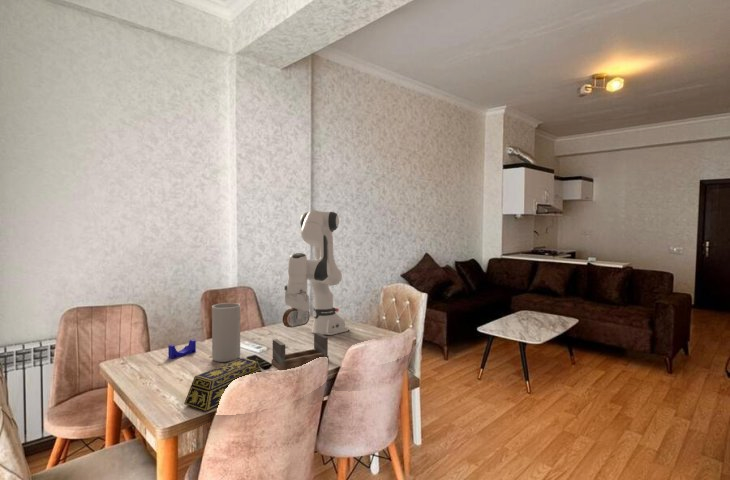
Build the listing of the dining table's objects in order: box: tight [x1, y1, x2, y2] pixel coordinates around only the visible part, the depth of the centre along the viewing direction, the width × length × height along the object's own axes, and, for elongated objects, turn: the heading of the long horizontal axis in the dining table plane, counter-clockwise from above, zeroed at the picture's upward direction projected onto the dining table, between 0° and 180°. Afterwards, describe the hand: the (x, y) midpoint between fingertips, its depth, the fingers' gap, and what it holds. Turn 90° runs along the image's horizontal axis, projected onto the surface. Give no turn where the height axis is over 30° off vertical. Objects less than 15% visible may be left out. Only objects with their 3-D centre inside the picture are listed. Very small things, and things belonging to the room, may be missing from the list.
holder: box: [271, 332, 330, 371], centre depth 179 cm, size 24×10×11 cm, turn 124°
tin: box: [282, 308, 310, 328], centre depth 181 cm, size 15×3×8 cm, turn 143°
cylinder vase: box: [211, 302, 241, 363], centre depth 183 cm, size 12×12×25 cm
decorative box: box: [183, 357, 263, 412], centre depth 147 cm, size 11×30×9 cm, turn 152°
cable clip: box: [168, 339, 197, 360], centre depth 188 cm, size 12×4×6 cm, turn 145°
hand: (296, 318), depth 181 cm, fingers closed on tin, 3 cm apart
